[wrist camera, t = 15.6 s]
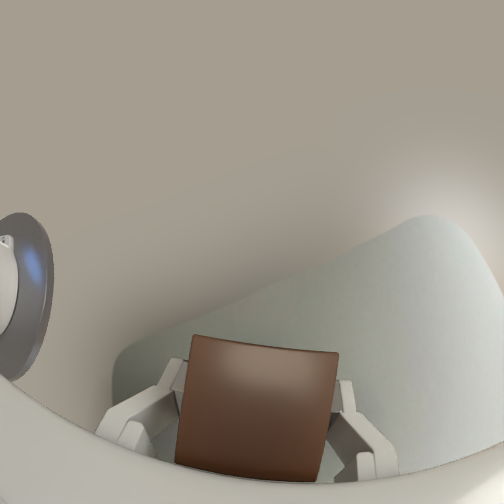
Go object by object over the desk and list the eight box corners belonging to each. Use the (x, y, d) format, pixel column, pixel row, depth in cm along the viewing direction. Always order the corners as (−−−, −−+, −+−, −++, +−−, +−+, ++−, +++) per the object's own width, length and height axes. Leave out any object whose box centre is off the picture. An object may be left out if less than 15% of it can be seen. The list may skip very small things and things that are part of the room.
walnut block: (217, 413, 13) (173, 463, 6) (228, 346, 14) (192, 333, 7) (289, 422, 13) (316, 482, 5) (299, 355, 14) (339, 352, 7)
